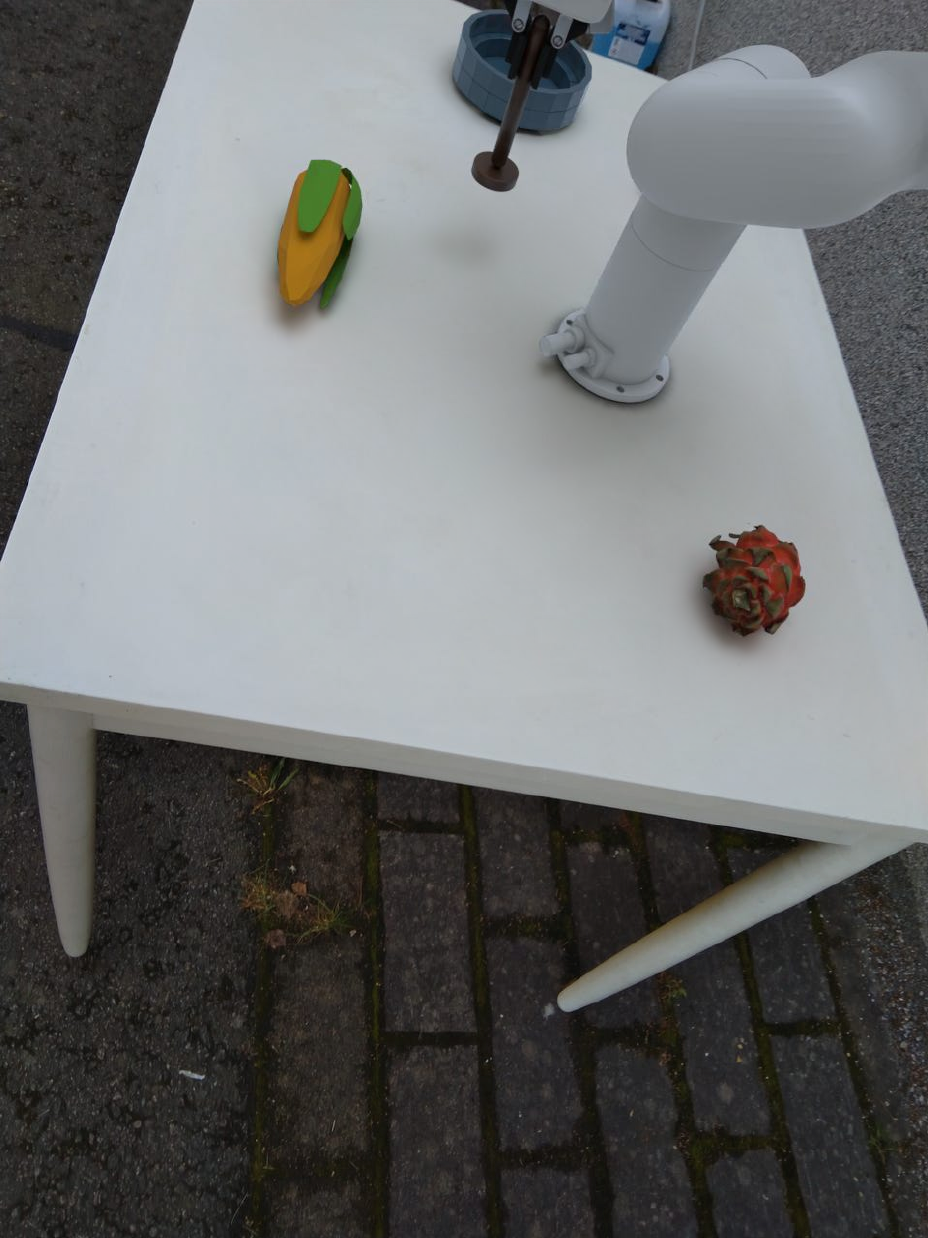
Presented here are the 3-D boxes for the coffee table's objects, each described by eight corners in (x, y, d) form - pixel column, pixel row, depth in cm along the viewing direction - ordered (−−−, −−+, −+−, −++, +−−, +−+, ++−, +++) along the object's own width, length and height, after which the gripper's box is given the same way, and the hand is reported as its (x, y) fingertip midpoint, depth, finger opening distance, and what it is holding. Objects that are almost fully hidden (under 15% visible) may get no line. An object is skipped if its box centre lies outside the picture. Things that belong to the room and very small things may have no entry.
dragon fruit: (704, 660, 81) (718, 572, 89) (805, 661, 77) (810, 570, 85) (693, 589, 76) (708, 503, 84) (801, 587, 72) (806, 497, 80)
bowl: (494, 141, 109) (508, 97, 104) (427, 56, 114) (437, 10, 110) (599, 129, 117) (617, 88, 112) (532, 50, 122) (546, 7, 117)
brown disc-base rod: (486, 194, 90) (537, 31, 77) (462, 164, 92) (508, -2, 78) (524, 189, 92) (580, 29, 79) (500, 159, 94) (551, -3, 81)
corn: (374, 145, 89) (340, 276, 79) (366, 213, 96) (334, 342, 85) (300, 127, 88) (255, 257, 78) (297, 196, 95) (255, 325, 84)
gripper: (493, -192, 65) (434, 63, 81) (690, -104, 67) (596, 130, 82) (513, -223, 69) (454, 26, 85) (699, -139, 71) (608, 90, 86)
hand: (525, 75), depth 83 cm, fingers closed on brown disc-base rod
